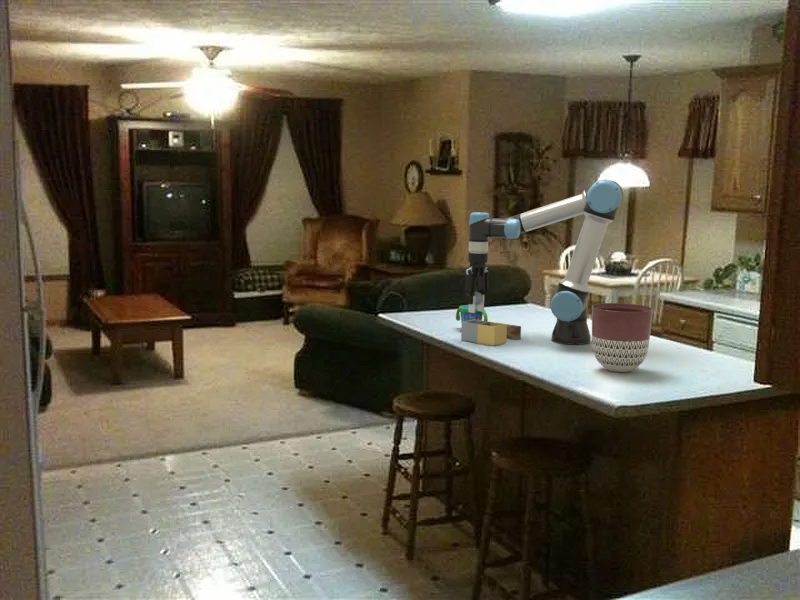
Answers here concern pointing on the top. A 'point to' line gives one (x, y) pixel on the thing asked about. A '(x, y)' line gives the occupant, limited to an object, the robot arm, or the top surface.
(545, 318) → the top surface
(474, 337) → the tube block
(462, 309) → the snack cup
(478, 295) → the slate ball
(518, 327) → the rack
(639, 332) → the planter
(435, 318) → the top surface
